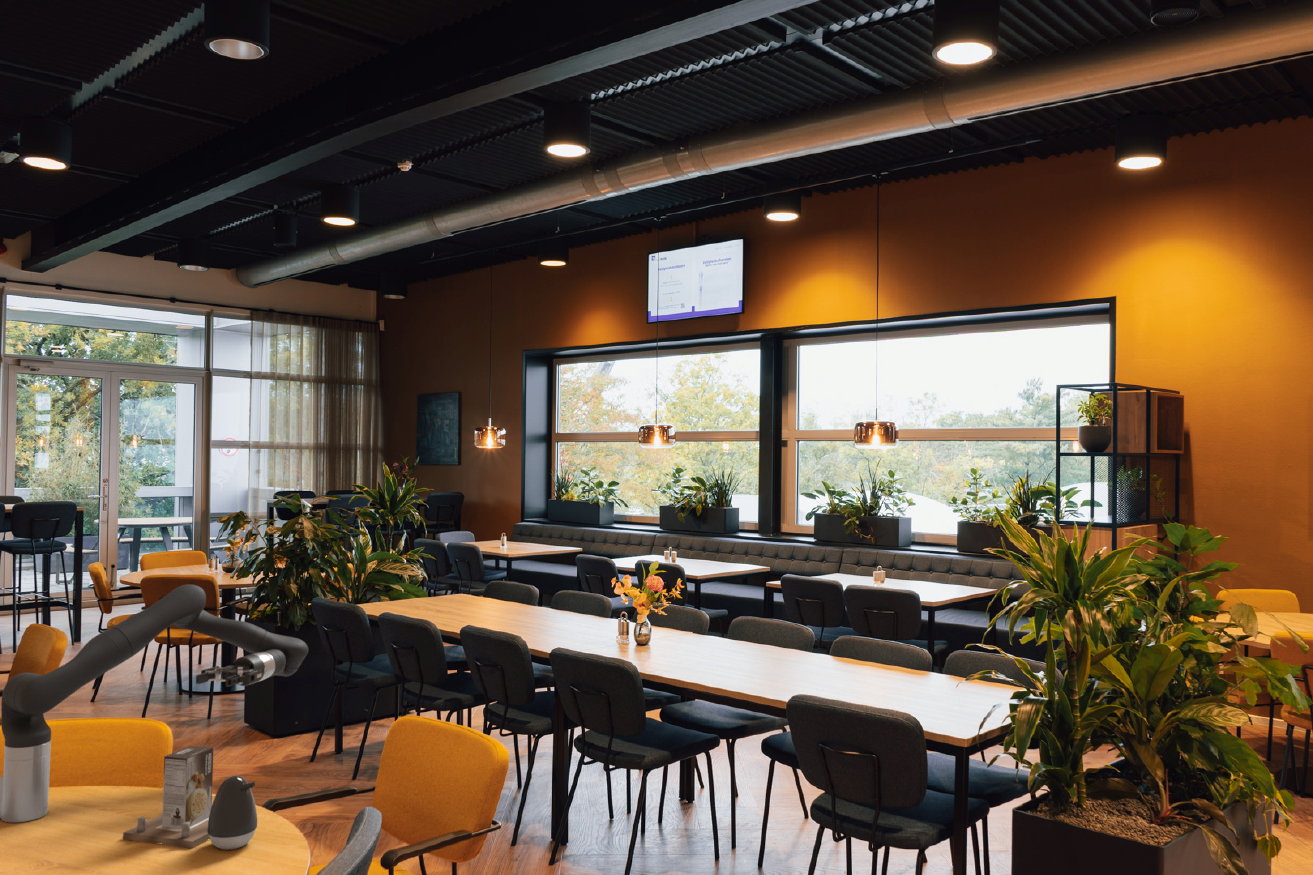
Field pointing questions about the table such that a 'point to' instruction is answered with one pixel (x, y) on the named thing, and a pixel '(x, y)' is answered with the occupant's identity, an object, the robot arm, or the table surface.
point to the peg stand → (168, 833)
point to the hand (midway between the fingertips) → (212, 681)
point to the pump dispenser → (232, 814)
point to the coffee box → (187, 786)
